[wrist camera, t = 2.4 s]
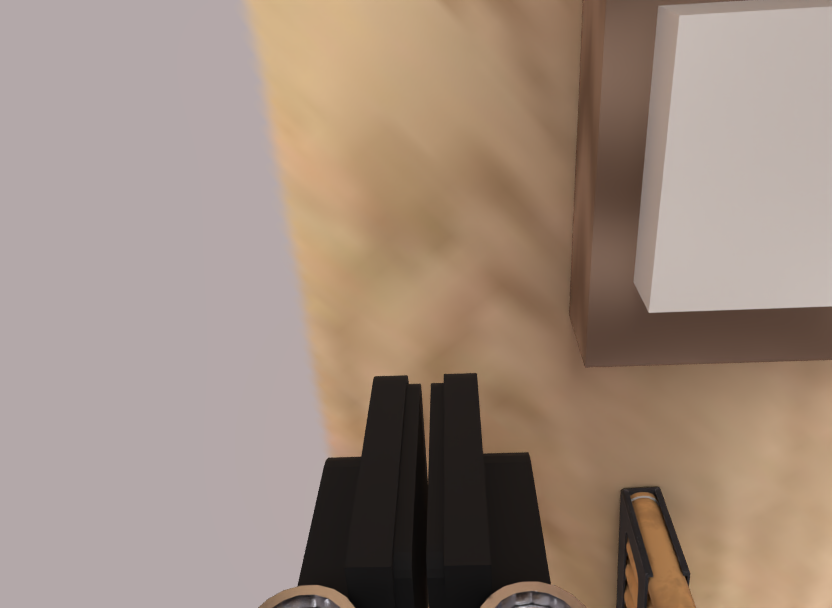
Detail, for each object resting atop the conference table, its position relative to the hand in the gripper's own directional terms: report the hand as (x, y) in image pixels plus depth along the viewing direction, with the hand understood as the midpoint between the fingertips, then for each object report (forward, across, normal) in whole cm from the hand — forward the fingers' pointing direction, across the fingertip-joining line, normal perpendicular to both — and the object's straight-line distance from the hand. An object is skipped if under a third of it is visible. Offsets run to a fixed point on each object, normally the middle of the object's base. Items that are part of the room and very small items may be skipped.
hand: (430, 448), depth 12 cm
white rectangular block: (+12, -10, -1) cm, 16 cm away
